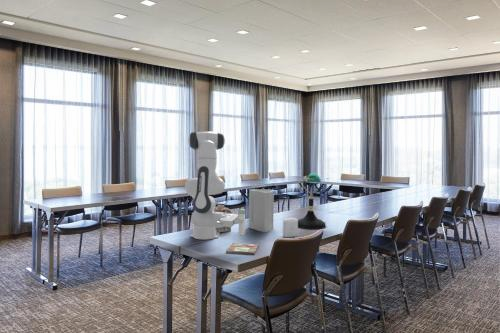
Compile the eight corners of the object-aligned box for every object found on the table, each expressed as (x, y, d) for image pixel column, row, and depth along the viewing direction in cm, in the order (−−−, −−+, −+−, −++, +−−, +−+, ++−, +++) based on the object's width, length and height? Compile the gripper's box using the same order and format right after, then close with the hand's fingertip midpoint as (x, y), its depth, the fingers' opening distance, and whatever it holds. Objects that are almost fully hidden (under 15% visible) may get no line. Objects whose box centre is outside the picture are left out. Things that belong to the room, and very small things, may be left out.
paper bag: (280, 229, 278) (281, 191, 277) (264, 232, 270) (265, 192, 268) (264, 225, 294) (264, 188, 292) (248, 227, 285) (248, 189, 283)
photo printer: (295, 235, 263) (295, 217, 262) (298, 236, 259) (298, 218, 258) (281, 236, 259) (282, 218, 258) (284, 237, 255) (285, 219, 254)
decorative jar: (231, 231, 271) (232, 205, 271) (218, 232, 264) (219, 206, 263) (221, 228, 280) (222, 203, 280) (207, 229, 272) (209, 204, 272)
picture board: (232, 244, 234) (232, 242, 234) (258, 246, 232) (258, 244, 232) (226, 253, 217) (226, 250, 217) (254, 254, 214) (254, 252, 214)
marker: (239, 233, 221) (239, 209, 221) (245, 233, 221) (246, 209, 220) (237, 234, 218) (238, 210, 217) (244, 235, 217) (244, 210, 216)
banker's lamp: (326, 230, 278) (327, 175, 276) (293, 228, 282) (295, 174, 280) (325, 223, 304) (326, 172, 302) (296, 221, 308) (297, 171, 306)
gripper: (215, 217, 210) (240, 218, 208) (223, 211, 231) (246, 212, 228) (215, 229, 211) (240, 230, 209) (223, 222, 231) (246, 223, 229)
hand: (243, 221), depth 219 cm, fingers closed on marker, 3 cm apart
